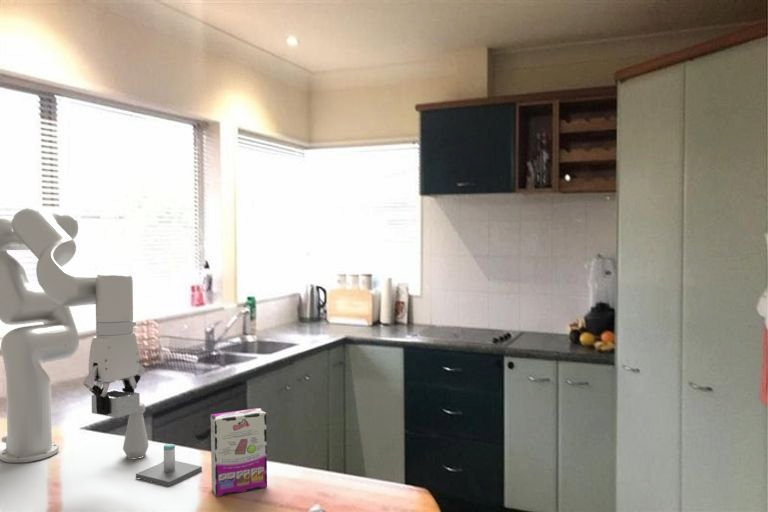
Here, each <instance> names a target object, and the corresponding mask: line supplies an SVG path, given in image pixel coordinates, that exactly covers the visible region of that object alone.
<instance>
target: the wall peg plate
mask: <svg viewBox="0 0 768 512" xmlns="http://www.w3.org/2000/svg"><path fill="white" fill-rule="evenodd" d="M175 454H176V444H173V443H169V444H164V445H163V462H160V463H157V464H156V465H153V466H151V467H149V468H146V469H143V470H141V471H139V472H136V473H135V478H136V479H137V478H140V479H139V480H141V479H145V480H144V481H146V480H149V481H148V482H150V481H152V482H151V483H154V482H155V483H154V484H158V483H159V484H158V485H162V484H163V486H166V487H171V486H173V485H175V484H177V483H180V482H181V481H184V480H185V479H188V478H190V477H192V476H194V475H196V474H198V473H200V472H202V471H203V467H202V466H200V465H196V464H191V463H188V462H183V461H179V460H176V455H175Z"/></svg>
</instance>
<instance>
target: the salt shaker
mask: <svg viewBox="0 0 768 512" xmlns="http://www.w3.org/2000/svg"><path fill="white" fill-rule="evenodd" d="M145 412H146V405H145V404H144V402H140V411H138V412H135V413H131V414H128V415H129V416H128V419H127V426H126V429H125V430H126V431H125V436H124V442H123V447H122V449H123V452H124V453H125V455H126V457H127V459H128V458H137V459H139V458H138V457H142V456H143V457H145V456H146V453H147V451H148V448H149V440H148V434H147V430H146V425H145V424H146V423H145V418H144V413H145ZM143 457H142V458H143Z"/></svg>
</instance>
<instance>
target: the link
mask: <svg viewBox="0 0 768 512" xmlns="http://www.w3.org/2000/svg"><path fill="white" fill-rule="evenodd" d="M140 395H141V394H140V392H135V391H134V392H129V391H123V390H122V389H116V388H114V389H108V391H107V395H106V396H109V414H108V415H103V414H98V413H97V409H96V396H95V395H93V394H91V414H94V415H99V416H100V415H101V416H105V417H110V418H115V419H118V418H121V417H124V416H128V415H129V414H131V413H135V412H138V411H140V403H141V401H140Z"/></svg>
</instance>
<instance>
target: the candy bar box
mask: <svg viewBox="0 0 768 512" xmlns="http://www.w3.org/2000/svg"><path fill="white" fill-rule="evenodd" d="M210 448H211V449H210V454H211V455H210V457H211V461H210V462H211V467H210V468H211V489H212V492H213V491H214V492H213V493H214V495H215V497H217V496H218V497H223V496H228V495H233V494H239V493H244V492H249V491H253V490H260V489H263V488H267V487H268V462H267V461H268V459H267V457H268V453H267V450H268V449H267V412H265V410H263V409H262V408H261V407H257V408H249V409H242V410H234V411H227V412H220V413H219V412H218V413H213V414H210Z"/></svg>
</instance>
